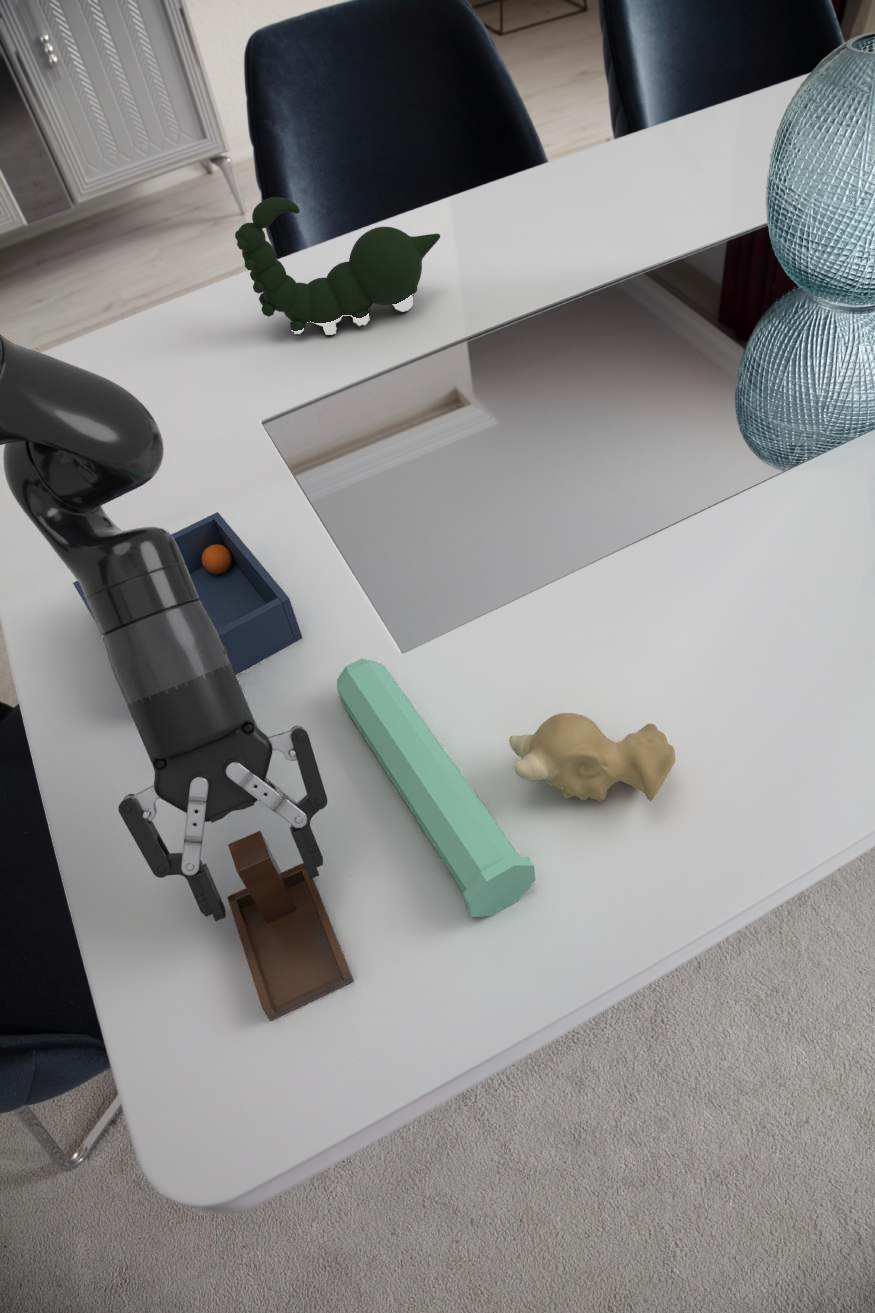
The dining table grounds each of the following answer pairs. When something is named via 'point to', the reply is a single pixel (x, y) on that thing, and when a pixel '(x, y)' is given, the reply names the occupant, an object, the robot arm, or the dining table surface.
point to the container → (435, 791)
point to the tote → (236, 595)
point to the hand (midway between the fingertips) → (268, 894)
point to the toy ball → (216, 559)
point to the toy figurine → (333, 271)
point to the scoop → (284, 931)
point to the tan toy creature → (592, 757)
